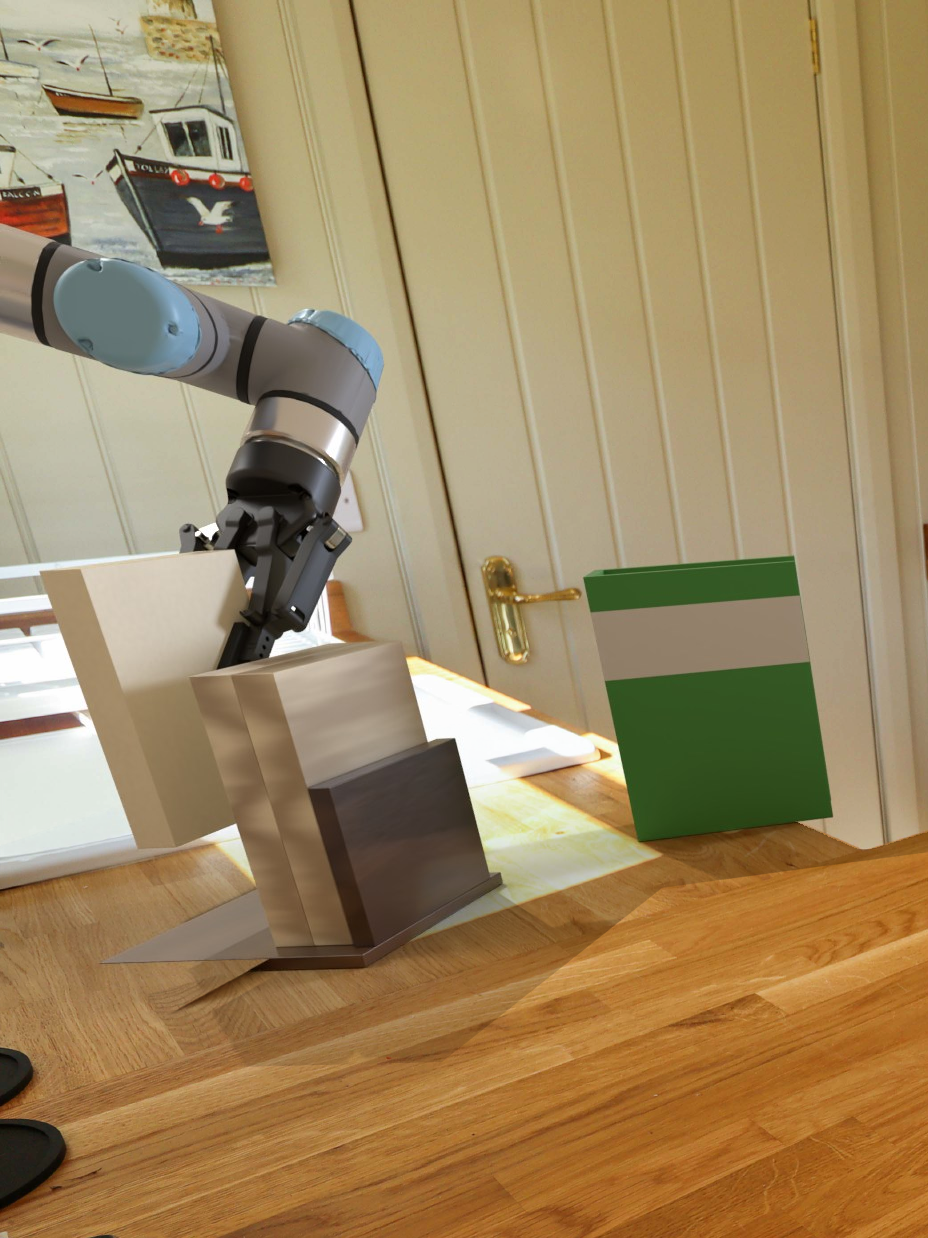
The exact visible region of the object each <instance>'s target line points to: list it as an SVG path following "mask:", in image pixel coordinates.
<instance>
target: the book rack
mask: <svg viewBox="0 0 928 1238" xmlns="http://www.w3.org/2000/svg"><path fill="white" fill-rule="evenodd" d="M189 678H190V681H191V684H192V688H193V691H194V694H195V697H196V700H197V703H198V706H199V709H200V713H201V716H202V719H203V722H204V725H205V728H206V731H207V734H208V737H209V741H210V744H211V747H212V750H213V753H214V756H215V759H216V762H217V765H218V769H219V772H220V775H221V778H222V781H223V784H224V787H225V790H226V793H227V797H228V800H229V803H230V806H231V809H232V812H233V815H234V818H235V821H236V824H235V825H236V827H237V831H238V834H239V837H240V840H241V843H242V846H243V849H244V852H245V855H246V859H247V862H248V865H249V868H250V871H251V874H252V877H253V880H254V884H255V887H256V889H254V890H251V891H249V892H248V893H244V894H243V895H240V896H239V897H237V898H234V899H232V900H230V901H228V902H226V903H224V904H222V905H219V906H218V907H216V908H213V909H211V910H209V911H207V912H204V913H202V914H200V915H199V916H195V917H194V918H191V919H190V920H188V921H185V922H182V923H181V924H179V925H177V926H175V927H171V928H170V929H169V930H166V931H164V932H162V933H160V934H158V935H155V936H153V937H151V938H149V939H146V940H145V941H142V942H140V943H138V944H136V945H134V946H132V947H130V948H128V949H125V950H124V951H121V952H119V953H117V954H115V955H113V956H111V957H108V958H106V959H104V960H102V961H100V962H99V963H98V964H99V965H107V964H109V965H110V964H141V963H145V964H146V963H175V962H177V963H178V962H207V961H210V962H211V961H212V962H213V961H243V960H244V961H245V960H246V961H247V960H264V961H263V962H261V963H259V964H257V965H255V966H253V967H252V968H249V969H248V970H247V972H253V971H255V972H256V971H285V970H286V971H288V970H289V971H291V970H321V969H323V970H324V969H326V970H327V969H353V968H354V969H358V968H367V967H368V966H370V965H372V964H374V963H376V962H377V961H378V960H381V959H382V958H383V957H385V956H387V955H388V954H390V953H392V952H393V951H395V950H396V949H398V948H399V947H401V946H402V945H405V944H406V943H408V942H410V941H412V940H413V939H414V938H416V937H418V936H419V935H420V934H423V933H424V932H426V931H427V930H429V929H431V928H433V927H434V926H435V925H437V924H438V923H440V922H442V921H443V920H445V919H446V918H448V917H450V916H451V915H453V914H455V913H456V912H458V911H460V910H461V909H463V908H465V907H467V906H468V905H470V904H472V903H473V902H475V901H476V900H478V899H479V898H481V897H482V896H484V895H486V894H487V893H489V892H490V891H492V890H494V889H495V888H497V887H498V886H501V885H502V884H503V883H504V880H503V876H502V873H501V872H500V871H498V872H497V871H495V872H491V871H490V870H489V866H488V861H487V858H486V854H485V850H484V845H483V842H482V838H481V834H480V831H479V826H478V823H477V819H476V815H475V811H474V807H473V804H472V803H473V802H472V799H471V798H472V797H471V795H470V791H469V787H468V783H467V779H466V775H465V771H464V768H463V767H464V766H463V764H462V759H461V755H460V751H459V748H458V744H457V740H456V739H457V738H456V737H446V738H445V737H444V738H435V739H432V740H429V741H428V737H427V734H426V730H425V725H424V722H423V718H422V714H421V709H420V707H419V702H418V699H417V694H416V692H415V688H414V683H413V679H412V676H411V671H410V667H409V664H408V660H407V656H406V653H405V649H404V645H403V642H402V640H400V639H399V640H397V639H396V640H378V641H353V642H333V643H332V642H331V643H330V642H329V643H325V644H321V645H317V646H312V647H308V648H304V649H300V650H295V651H291V652H287V653H282V654H279V655H275V656H269V658H265V659H261V660H257V661H253V662H249V663H244V664H240V665H236V666H232V667H227V668H223V669H219V670H215V671H211V672H206V673H202V674H198V675H194V676H190V677H189Z"/></svg>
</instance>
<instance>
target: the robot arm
mask: <svg viewBox="0 0 928 1238" xmlns="http://www.w3.org/2000/svg"><path fill="white" fill-rule="evenodd" d="M0 334H3V335H7V336H10V337H14V338H18V339H21V340H24V341H28V342H32V343H34V344H35V343H36V344H38V345H42V346H46V347H49V348H53V349H55V350H58V351H61V352H64V353H68V354H71V355H75V356H78V357H82V358H86V359H89V360H93V361H96V362H99V363H101V364H102V365H105V366H107V367H110V368H113V369H116V370H120V371H124V372H127V373H131V374H136V375H141V376H154V377H158V378H162V379H163V378H165V379H167V380H172V381H177V382H180V383H184V384H186V385H190V386H193V387H196V388H199V389H202V390H204V391H207V392H211V393H215V394H218V395H221V396H223V397H227V398H229V399H233V400H237V401H239V402H241V403H243V404H246V405H249V406H254V408H253V410H252V412H251V415H250V417H249V420H248V421H247V424H246V426H245V429H244V431H243V434H242V436H241V438H240V439H241V440H240V441H239V442H240V443H239V447H238V449H237V450H236V452H235V455H234V458H233V460H232V462H231V465H230V467H229V470H228V472H227V475H226V476H225V482H224V483H225V490H226V495H227V503H226V505H225V507H224V508H223V509H222V510H221V511H220V512H218V514H217V515H216V517H215V522H213V523H211V524H208V525H206V526H202V527H200V528H198V527H197V526H196V525H194V524H193V523H191V522H188V523H184V524H183V525H182V526H180V527H179V530H178V533H179V539H180V549H179V552H178V554H180V553H188V552H196V551H213V550H232V549H234V550H235V553H236V557H237V560H238V563H239V567H240V570H241V573H242V577H243V580H244V583H245V587H246V586H247V584H248V582H249V580H250V579H251V578H252V577H253V582H252V588H251V592H250V597H249V600H250V602H249V607H248V610H243V612H244V613H245V614H246V615H245V614H244V613H243V612H241V611H239V613H240V615H241V616H242V617H244V618H245V619H246V620H247V621H248V622H250V626H248V625H246V624H245V623H244V622H234V624H233V627H232V630H231V632H230V635H229V637H228V640H227V643H226V645H225V648H224V651H223V653H222V656H221V658H220V661H219V664H218V666H217V669H216V670H219V669H223V668H227V667H232V666H236V665H240V664H244V663H249V662H253V661H257V660H261V659H265V658H270V657H271V654H272V650H273V647H274V645H275V643H276V641H277V640H279V639H281V638H282V637H283V635H284V633H286V632H290V631H293V632H294V633H298V634H300V633H302V632H304V631H305V630H306V629H307V628H308V625H309V623H310V621H311V618H312V616H313V614H314V612H315V610H316V607H317V605H318V603H319V601H320V599H321V596H322V594H323V591H324V589H325V587H326V585H327V583H328V580H329V578H330V576H331V574H332V571H333V569H334V566H336V564H337V563H336V562H337V561H338V559H339V558H340V556H341V555H342V554H343V553H344V552H345V551H346V550H347V548H348V547H349V546H350V545H351V544H352V542H353V537H352V536H351V535H350V534H349V533H348V532H347V531H346V530H345V529H344V528H343V527H342V526H341V525H340V524H339V523H338V522H337V521H336V520H335V519H334V518H333V517H334V514H335V511H336V508H337V506H338V503H339V500H340V497H341V495H342V487H343V486H344V485H345V481H346V478H347V475H348V473H349V471H350V468H351V466H352V462H353V460H354V457H355V454H356V451H357V448H358V446H359V443H360V441H361V437H362V435H363V432H364V429H365V427H366V424H367V421H368V419H369V416H370V413H371V411H372V409H373V407H374V404H375V403H376V400H377V393H378V389H379V385H380V382H381V378H382V373H383V370H384V367H385V360H384V355H383V352H382V348H381V347H380V345H379V343H378V342H377V340H376V339H375V338H374V336H373V335H372V334H371V333H370V332H369V331H368V330H367V329H366V328H365V327H363V326H361V325H360V323H358V322H356V321H355V320H353V319H351V318H350V317H348V316H346V315H344V314H341V313H339V312H336V311H334V310H331V309H330V310H329V309H322V310H316V309H314V308H304V309H302V310H299V311H297V312H296V313H294V314H293V316H292V317H291V318H290V319H288V321H287V322H286V323H284V322H282V321H278V320H276V319H273V318H268V317H266V316H263V315H260V314H259V315H258V314H256V313H253V312H250V311H247V310H245V309H243V308H240V307H237V306H235V305H232V304H229V303H227V302H224V301H222V300H220V299H217V298H214V297H212V296H210V295H206V294H204V293H201V292H198V291H196V290H193V289H191V288H189V287H187V286H186V285H182V284H180V283H177V282H176V281H174V280H171V279H169V278H168V277H165V276H164V275H162V274H161V273H160V272H159V271H157V270H155V269H153V268H150V267H147V266H144V265H141V264H139V263H136V262H133V261H130V260H127V259H123V258H118V257H108V256H105V255H101V254H98V253H95V252H92V251H89V250H86V249H83V248H79V247H76V246H72V245H69V244H64V243H61V242H58V241H56V240H54V239H51V238H48V237H46V236H42V235H38V234H36V233H32V232H29V231H26V230H23V229H20V228H17V227H14V226H11V225H7V224H4V223H1V222H0ZM292 607H294V608H295V609H292Z"/></svg>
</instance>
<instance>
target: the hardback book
mask: <svg viewBox="0 0 928 1238" xmlns="http://www.w3.org/2000/svg"><path fill="white" fill-rule="evenodd" d="M795 557H796V556H795V554H794V555H793V554H792V555H780V556H768V557H767V556H766V557H751V558H740V559H727V560H726V559H725V560H710V561H699V562H697V561H696V562H686V563H685V562H684V563H672V564H671V563H670V564H659V565H656V564H655V565H644V566H632V567H631V566H630V567H629V566H628V567H617V568H605V569H603V568H602V569H594V570H592V571H591V572H589V573H587V574H586V575H585V576H583V577H582V580H583V584H584V588H585V594H586V599H587V603H588V609H589V612H590V619H591V622H592V627H593V633H594V636H595V642H596V646H597V647H596V648H597V651H598V655H599V661H600V666H601V670H602V676H603V679H604V680H603V681H604V684H605V689H606V695H607V700H608V705H609V709H610V714H611V719H612V723H613V729H614V732H615V738H616V743H617V747H618V752H619V756H620V757H619V758H620V762H621V767H622V770H623V776H624V782H625V786H626V791H627V794H628V800H629V804H630V810H631V815H632V819H633V824H634V829H635V832H636V834H635V835H636V838H637V842H638V843H639V842H647V841H654V840H663V839H670V838H671V839H672V838H679V837H687V836H688V837H689V836H696V835H704V834H709V833H710V834H711V833H719V832H727V831H735V830H744V829H753V828H760V827H767V826H775V825H782V824H783V825H784V824H791V823H792V824H793V823H799V822H808V821H816V820H824V819H831V818H834V811H833V806H832V797H831V796H832V795H831V789H830V783H829V776H828V770H827V764H826V763H827V762H826V756H825V750H824V744H823V743H824V742H823V737H822V729H821V722H820V717H819V710H818V704H817V703H818V702H817V696H816V689H815V684H814V683H815V682H814V677H813V671H812V664H811V658H810V657H811V656H810V650H809V644H808V637H807V630H806V624H805V617H804V610H803V605H802V597H801V591H800V585H799V579H798V571H797V565H796V558H795Z"/></svg>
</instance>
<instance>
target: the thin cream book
mask: <svg viewBox="0 0 928 1238" xmlns="http://www.w3.org/2000/svg"><path fill="white" fill-rule="evenodd" d="M39 575H40V578H41V580H42V581H41V582H42V584H43V586H44V589H45V593H46V594H47V595H46V596H47V597H48V601H49V603H50V606H51V609H52V612H53V614H54V617H55V620H56V623H57V626H58V629H59V631H60V634H61V637H62V640H63V643H64V646H65V648H66V651H67V654H68V656H69V659H70V662H71V665H72V669H73V671H74V674H75V676H76V679H77V682H78V685H79V688H80V691H81V693H82V696H83V699H84V702H85V704H86V707H87V710H88V713H89V715H90V719H91V721H92V724H93V727H94V729H95V732H96V736H97V738H98V741H99V743H100V747H101V749H102V753H103V755H104V757H105V761H106V763H107V766H108V769H109V771H110V775H111V777H112V780H113V783H114V786H115V789H116V791H117V795H118V796H119V800H120V803H121V805H122V808H123V811H124V814H125V816H126V819H127V822H128V826H129V828H130V831H131V834H132V836H133V839H134V842H135V845H136V848H137V850H144V849H145V850H146V849H170V848H174V849H175V848H178V847H181V846H184V845H186V844H188V843H191V842H193V841H196V840H198V839H201V838H203V837H206V836H208V835H211V834H214V833H216V832H219V831H221V830H223V829H226V828H229V827H232V826H233V825H236V821H235V818H234V815H233V812H232V809H231V806H230V803H229V800H228V797H227V793H226V790H225V787H224V784H223V781H222V778H221V775H220V772H219V769H218V765H217V762H216V759H215V756H214V753H213V750H212V747H211V744H210V741H209V737H208V734H207V731H206V728H205V725H204V722H203V719H202V716H201V713H200V709H199V706H198V703H197V700H196V697H195V694H194V691H193V688H192V684H191V681H190V678H189V677H190V676H194V675H198V674H202V673H206V672H211V671H215V670H216V669H217V666H218V664H219V661H220V658H221V656H222V653H223V651H224V648H225V645H226V643H227V640H228V637H229V635H230V632H231V630H232V627H233V624H234V622H244V623H245V624H246V625H248V626H250V622H248V621H247V620H246V619H245V618H244V617H242V616H241V615H240V613H239V611H241V612H243V610H248V607H249V602H250V597H249V593H248V591H247V587H246V586H245V583H244V580H243V577H242V573H241V570H240V567H239V563H238V560H237V557H236V553H235V550H234V549H232V550H213V551H196V552H188V553H180V554H179V553H174V554H173V553H172V554H164V555H157V556H149V557H140V558H133V559H125V560H115V561H107V562H100V563H92V564H84V565H83V564H82V565H76V566H67V567H60V568H59V567H58V568H50V569H43V570H42V569H41V570H39ZM243 613H244V612H243ZM244 614H245V613H244ZM245 615H246V614H245Z"/></svg>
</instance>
